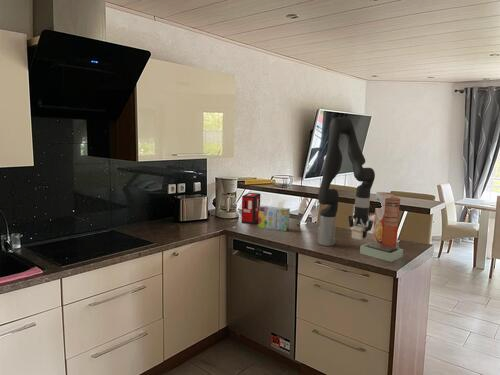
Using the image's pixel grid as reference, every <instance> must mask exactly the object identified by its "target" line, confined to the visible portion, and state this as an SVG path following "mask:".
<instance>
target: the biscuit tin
mask: <svg viewBox="0 0 500 375" xmlns="http://www.w3.org/2000/svg"><path fill="white" fill-rule="evenodd" d="M368 247H369V248H373V249H377V250H380V251H384V252H388V253H392V252H395V251H397V248H398V247H397V246H396V247H394V246H390V245H386V244H382V243H378V242H376V243H373V244H370V245H368Z"/></svg>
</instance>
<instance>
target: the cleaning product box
mask: <svg viewBox="0 0 500 375" xmlns="http://www.w3.org/2000/svg"><path fill="white" fill-rule="evenodd" d="M259 206H261V193H259V192H248V193H245V194H243V195H242V196H241V224H245V225H255V224H256V223H257V222H258V220H259Z"/></svg>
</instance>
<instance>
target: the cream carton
mask: <svg viewBox="0 0 500 375" xmlns="http://www.w3.org/2000/svg"><path fill="white" fill-rule="evenodd" d="M362 237H363V227H362V225H360V224H358V225H356V226H353V227H351V238H352V239H355V240H359V241H360V240H361V241H362V240H363V239H367V238H368V235H367V236H366V238H362Z"/></svg>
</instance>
